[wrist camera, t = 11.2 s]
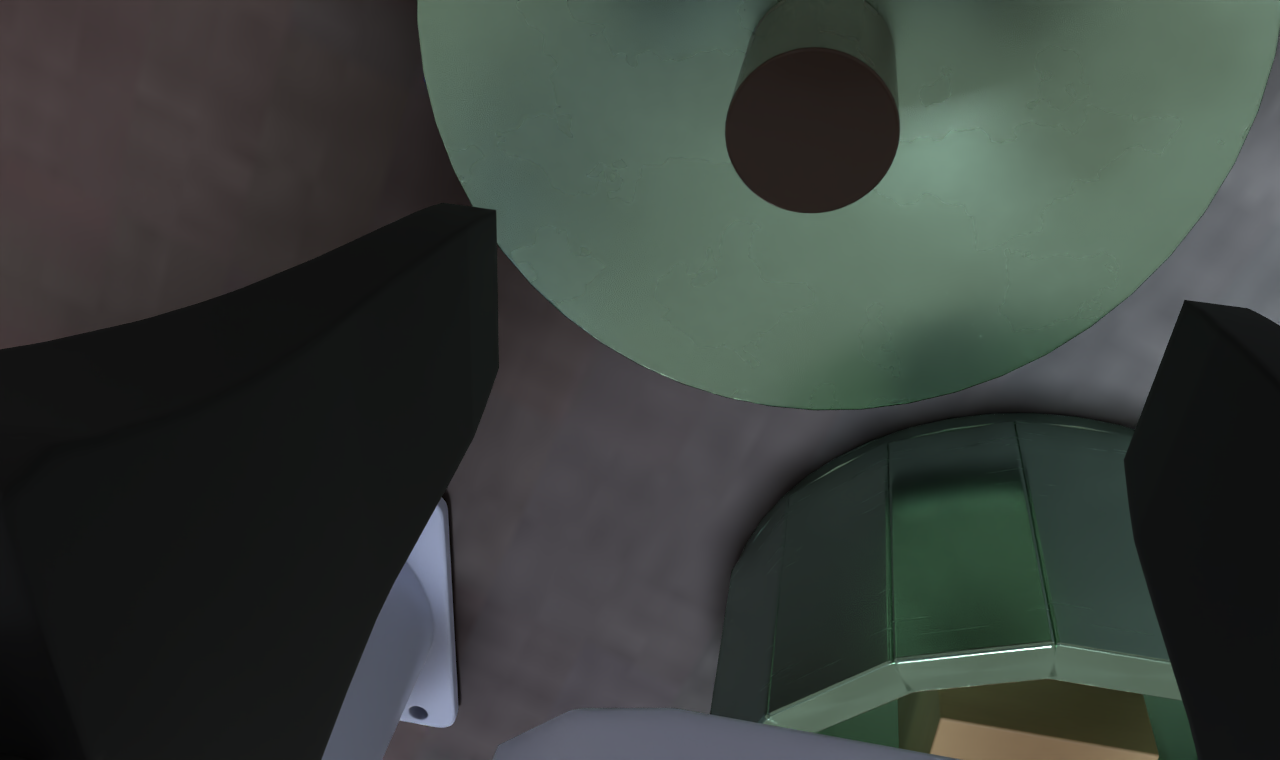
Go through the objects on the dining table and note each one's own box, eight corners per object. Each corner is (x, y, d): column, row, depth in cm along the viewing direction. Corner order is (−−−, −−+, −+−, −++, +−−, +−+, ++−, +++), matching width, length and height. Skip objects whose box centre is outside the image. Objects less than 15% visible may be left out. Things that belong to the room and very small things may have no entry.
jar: (704, 765, 30) (669, 1006, 24) (759, 371, 23) (725, 590, 17) (1196, 854, 28) (1271, 1130, 23) (1416, 463, 21) (1597, 731, 16)
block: (897, 696, 26) (900, 845, 23) (930, 573, 24) (940, 718, 21) (1070, 725, 26) (1098, 882, 23) (1120, 602, 24) (1160, 756, 20)
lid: (451, 332, 23) (377, 452, 20) (414, -482, 16) (283, -521, 12) (1117, 425, 22) (1165, 575, 18) (1427, -426, 14) (1610, -451, 11)
